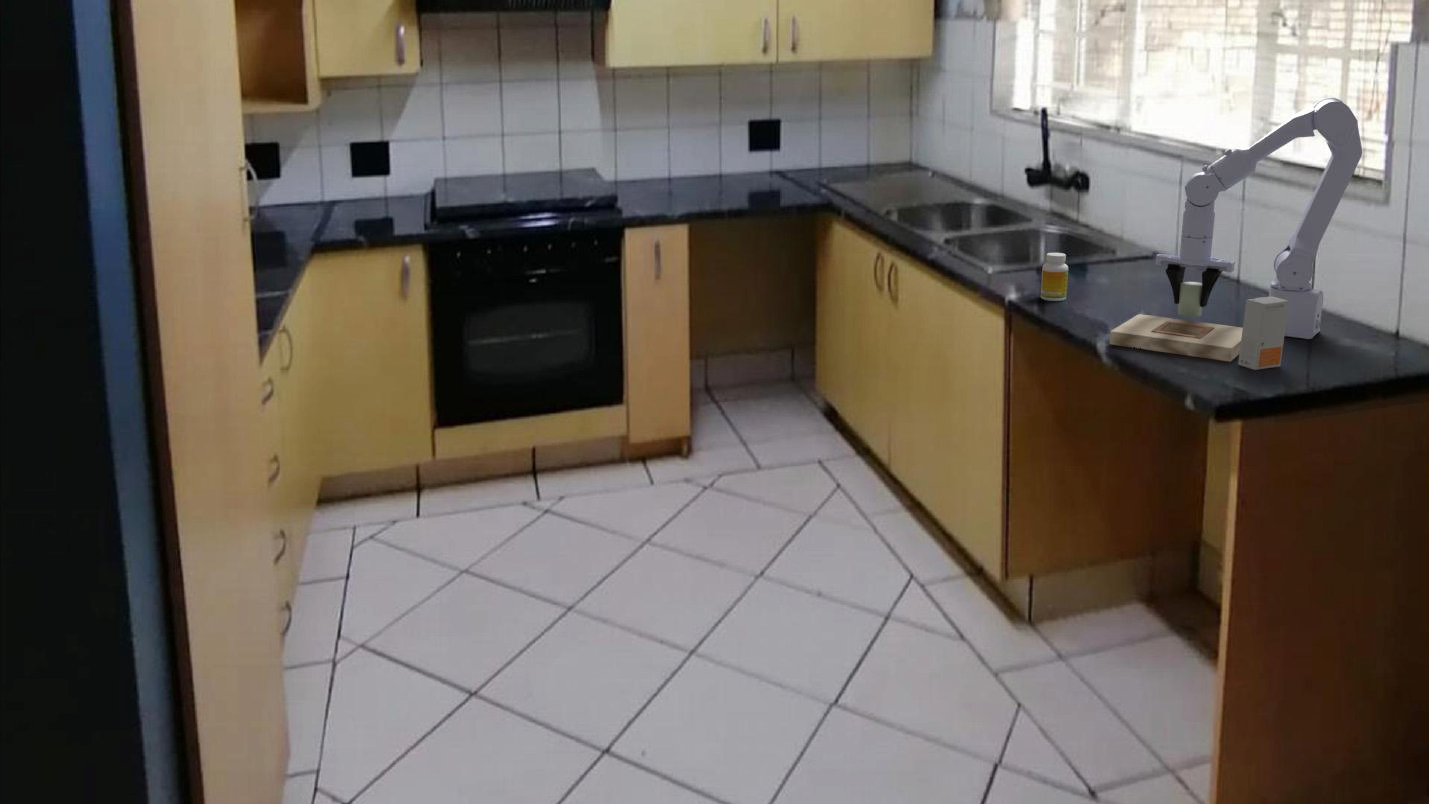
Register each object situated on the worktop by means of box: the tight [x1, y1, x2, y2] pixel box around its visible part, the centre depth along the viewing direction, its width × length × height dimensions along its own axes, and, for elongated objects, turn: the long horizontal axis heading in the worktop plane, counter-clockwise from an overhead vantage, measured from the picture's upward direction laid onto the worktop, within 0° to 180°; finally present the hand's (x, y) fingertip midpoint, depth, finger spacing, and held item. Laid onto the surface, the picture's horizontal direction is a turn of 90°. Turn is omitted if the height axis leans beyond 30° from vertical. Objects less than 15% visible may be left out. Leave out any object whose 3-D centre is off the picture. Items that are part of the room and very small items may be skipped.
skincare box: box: [1237, 296, 1289, 371], centre depth 228 cm, size 6×4×12 cm
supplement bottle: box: [1040, 252, 1069, 302], centre depth 279 cm, size 5×5×10 cm
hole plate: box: [1109, 313, 1243, 362], centre depth 244 cm, size 22×16×3 cm
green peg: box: [1177, 281, 1203, 318], centre depth 255 cm, size 4×4×6 cm
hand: (1190, 304), depth 256 cm, fingers closed on green peg, 4 cm apart
